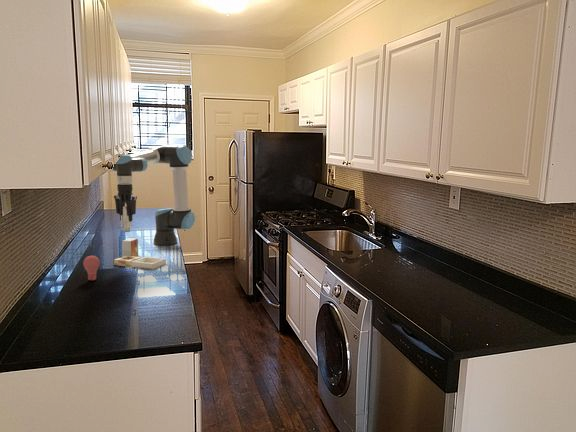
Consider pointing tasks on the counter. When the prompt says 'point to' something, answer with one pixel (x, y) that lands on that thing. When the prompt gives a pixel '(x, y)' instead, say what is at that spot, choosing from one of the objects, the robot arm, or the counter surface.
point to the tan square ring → (125, 260)
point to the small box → (130, 247)
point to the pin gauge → (125, 219)
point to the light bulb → (91, 266)
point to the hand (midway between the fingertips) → (126, 227)
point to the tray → (149, 263)
